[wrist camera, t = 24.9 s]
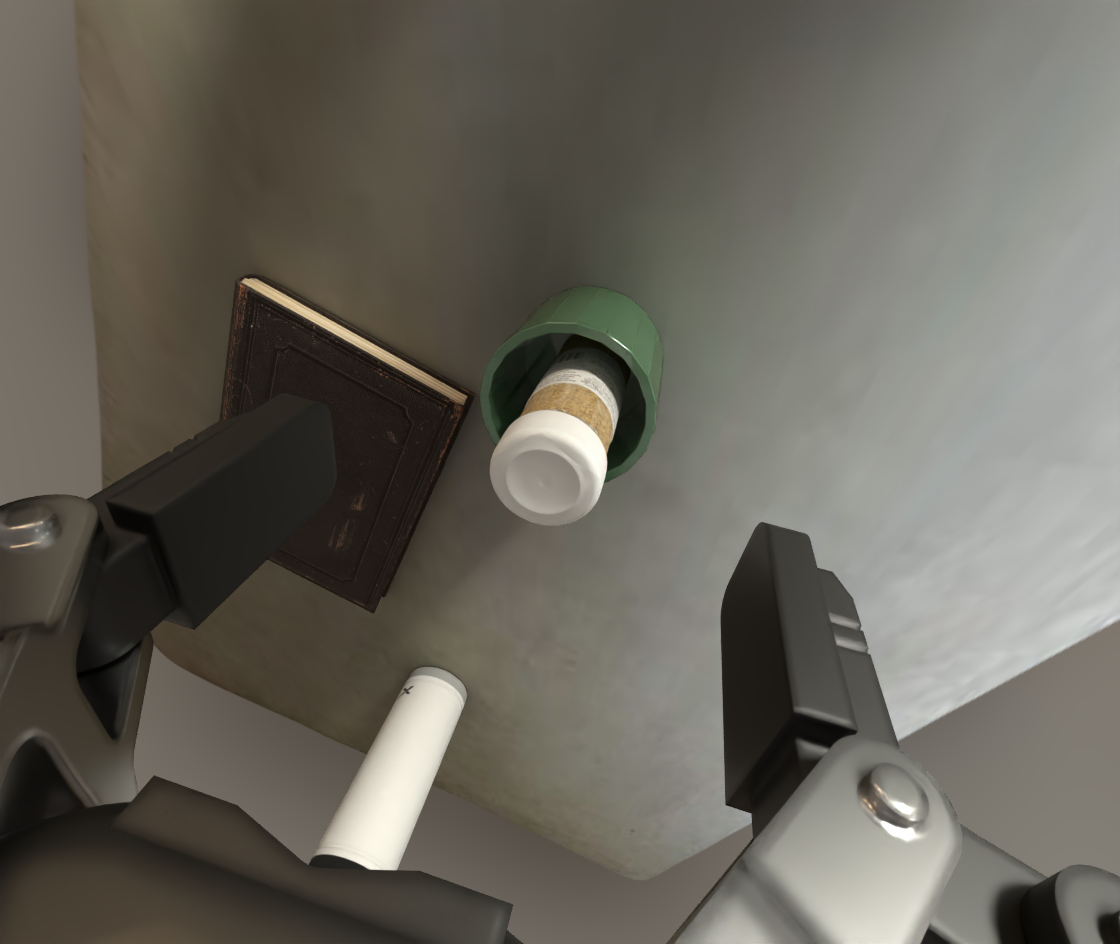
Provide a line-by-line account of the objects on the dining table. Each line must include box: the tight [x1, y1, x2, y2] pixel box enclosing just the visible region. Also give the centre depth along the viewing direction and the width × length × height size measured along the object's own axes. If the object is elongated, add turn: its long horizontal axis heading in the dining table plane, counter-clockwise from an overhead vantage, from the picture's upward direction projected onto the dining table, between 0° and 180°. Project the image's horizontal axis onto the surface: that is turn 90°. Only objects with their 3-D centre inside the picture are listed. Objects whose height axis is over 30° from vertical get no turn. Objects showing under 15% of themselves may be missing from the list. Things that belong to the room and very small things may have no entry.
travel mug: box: [309, 667, 467, 870], centre depth 45 cm, size 6×7×20 cm
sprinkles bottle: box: [490, 334, 631, 526], centre depth 26 cm, size 5×5×14 cm
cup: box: [480, 286, 663, 483], centre depth 29 cm, size 9×9×8 cm
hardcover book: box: [220, 274, 475, 613], centre depth 40 cm, size 16×23×2 cm
